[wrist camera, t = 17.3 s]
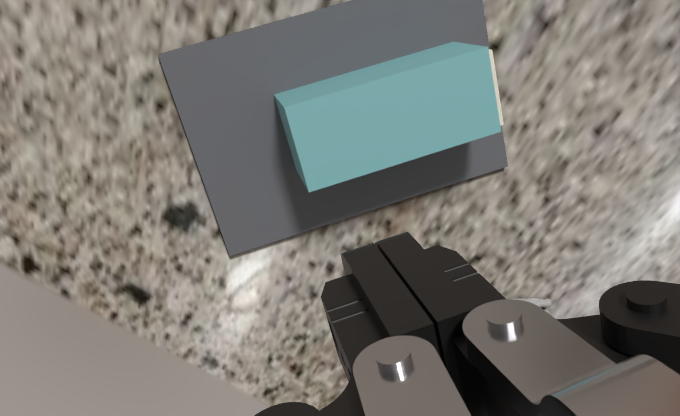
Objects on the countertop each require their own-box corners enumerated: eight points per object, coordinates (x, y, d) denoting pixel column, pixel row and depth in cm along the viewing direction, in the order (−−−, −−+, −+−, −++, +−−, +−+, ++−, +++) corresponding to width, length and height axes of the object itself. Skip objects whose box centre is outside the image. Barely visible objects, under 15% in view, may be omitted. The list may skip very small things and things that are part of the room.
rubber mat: (229, 253, 36) (229, 256, 35) (158, 54, 31) (157, 55, 31) (504, 164, 38) (507, 166, 38) (473, -34, 34) (476, -34, 33)
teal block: (308, 192, 30) (506, 129, 32) (284, 107, 29) (493, 45, 30) (296, 169, 35) (471, 115, 36) (273, 94, 33) (458, 40, 34)
